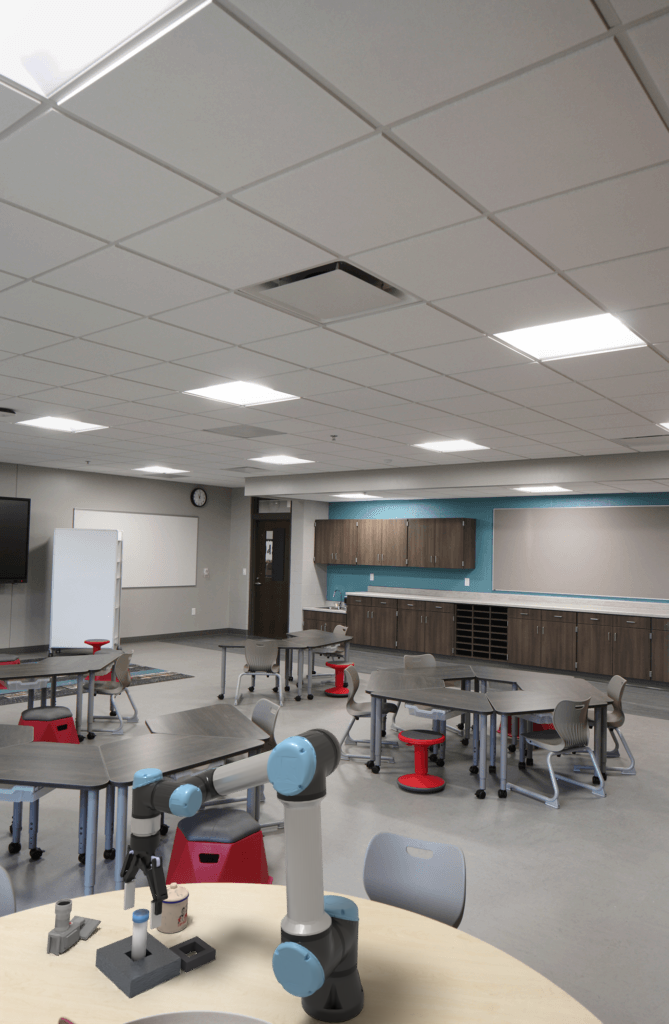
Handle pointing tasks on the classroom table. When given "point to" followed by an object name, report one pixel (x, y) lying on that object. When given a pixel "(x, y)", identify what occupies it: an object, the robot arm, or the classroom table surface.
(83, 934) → the camera
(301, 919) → the robot arm
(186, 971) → the frame
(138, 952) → the plug
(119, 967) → the port panel
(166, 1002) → the classroom table surface
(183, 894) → the teacup with lid
